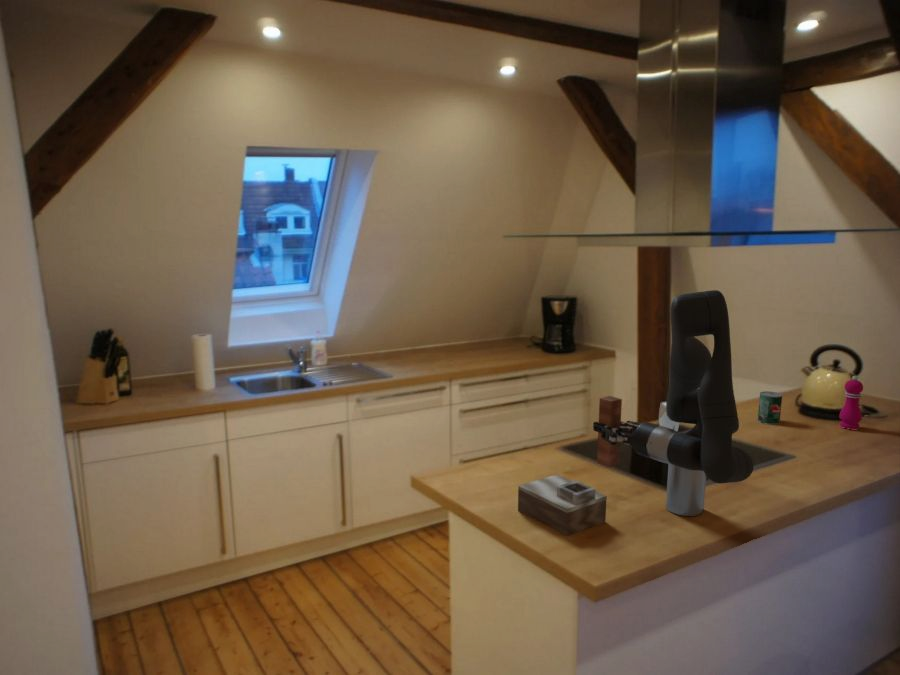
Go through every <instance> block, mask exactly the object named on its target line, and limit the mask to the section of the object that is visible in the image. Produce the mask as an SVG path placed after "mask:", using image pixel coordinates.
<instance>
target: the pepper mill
mask: <svg viewBox="0 0 900 675" xmlns="http://www.w3.org/2000/svg"><path fill="white" fill-rule="evenodd" d="M844 390H845V392H844V393H845V403H844V405H843V407H842V409H840V412H839V420H841V421H840V423H839V427H840V426H841V427H844V428H850V429H858V428H859V429H860V424H859V423H860V422H861V421H862V419H863V418H862V417H863V416H862V412H861V408H860V405H859V402H860V398H862V397H861V395H862V394H861V393H862V392H863V390H864V385H863V383H862V382H861V381H860V380H858V377H857V376H856V375H853V376H852V378H851V379H850V380H849V379H848V380H847V381H846V382H845V383H844ZM841 427H840V428H841Z"/></svg>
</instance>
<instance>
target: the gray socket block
mask: <svg viewBox="0 0 900 675" xmlns="http://www.w3.org/2000/svg"><path fill="white" fill-rule="evenodd" d="M517 489H518V491H517V492H518V494H517V496H518V497H517V511H518V512H520V513H522V514H524V515H526V516H527V517H529V518H531V519H534V520H535V521H537V522H538V523H541V524H543V525H544V526H546V527H548V528H551V529H552V530H554V531H556V532H558V533H560V534H562V535H564V536H565V537H567V536H570V535H573V534H576V533H579V532H582V531H584V530H587V529H589V528H592V527H595V526H598V525H600V524H603V523H606V521H607V520H606V517H607V514H606V513H607V495H605V494H603V493H602V492H599V491H596V490H597V489H596V488H594V487H592V486H589V485H588V484H587V485H586V484H584V483H583V482H580V481H577V480H574V481H573V480H571V479H568V478H566V477H563V476H562V475H559V474H554V475H551V476H547V477H543V478H540V479H536V480H532V481H530V482H527V483H526V482H525V483H523V484H520V485H518V488H517Z"/></svg>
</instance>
